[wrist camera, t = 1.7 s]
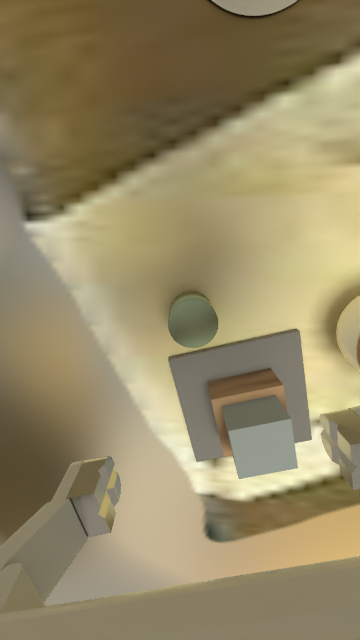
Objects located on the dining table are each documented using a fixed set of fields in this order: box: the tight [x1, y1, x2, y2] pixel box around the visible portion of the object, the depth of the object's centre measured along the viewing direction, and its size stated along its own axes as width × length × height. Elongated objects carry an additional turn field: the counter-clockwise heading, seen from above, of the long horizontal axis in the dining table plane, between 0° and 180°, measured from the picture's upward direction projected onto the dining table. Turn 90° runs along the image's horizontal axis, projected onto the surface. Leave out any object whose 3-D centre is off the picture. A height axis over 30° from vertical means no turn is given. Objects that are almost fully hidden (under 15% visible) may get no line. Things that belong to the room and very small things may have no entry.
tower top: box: [222, 395, 298, 479], centre depth 26 cm, size 6×6×4 cm
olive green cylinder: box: [168, 292, 218, 348], centre depth 27 cm, size 5×5×5 cm
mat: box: [169, 329, 312, 462], centre depth 33 cm, size 16×16×1 cm
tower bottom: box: [207, 368, 287, 457], centre depth 30 cm, size 8×8×4 cm
